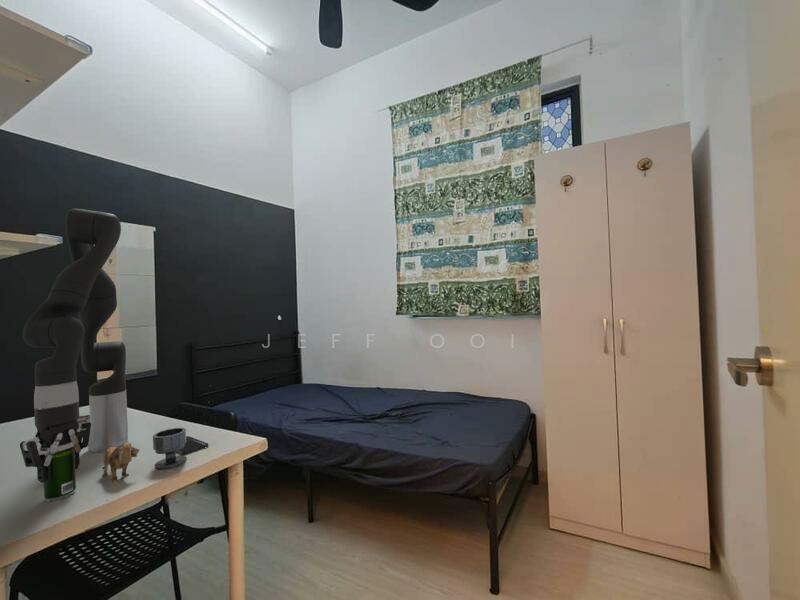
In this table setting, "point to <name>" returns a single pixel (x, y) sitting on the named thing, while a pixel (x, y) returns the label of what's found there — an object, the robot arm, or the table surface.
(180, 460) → the cup bracket
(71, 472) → the green drink can
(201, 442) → the phone
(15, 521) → the table surface
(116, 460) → the lion figurine
